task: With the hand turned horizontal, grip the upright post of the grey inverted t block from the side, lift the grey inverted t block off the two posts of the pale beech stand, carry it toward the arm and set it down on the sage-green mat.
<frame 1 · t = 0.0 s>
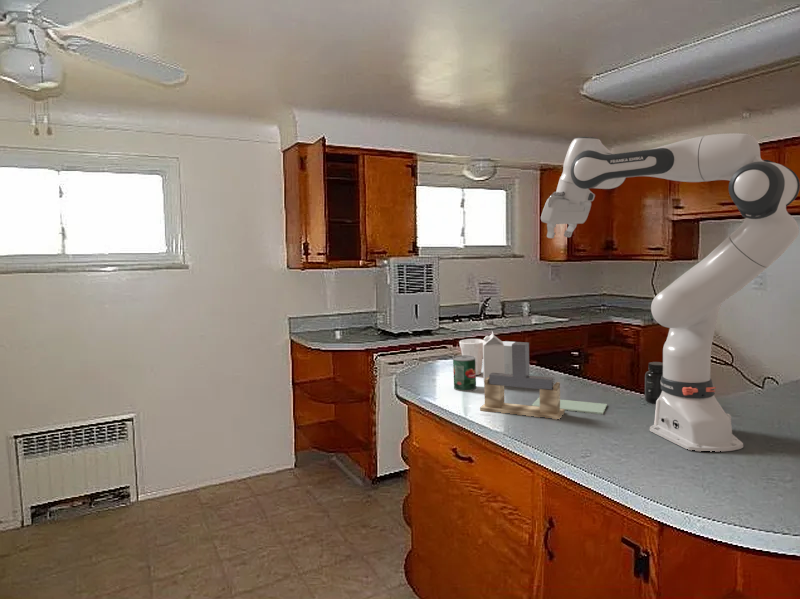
hand: (558, 237, 167), 52 cm above the counter, tool tilted 20°, fingers open, 8 cm apart
canned tomato: (465, 388, 194), on the counter
supplement bottle: (656, 401, 170), on the counter
grey inverted t block: (521, 385, 165), point 8 cm above the counter, touching stand
mat: (569, 406, 169), on the counter
small box: (507, 377, 207), on the counter
stand: (521, 411, 166), on the counter
cup: (473, 374, 213), on the counter
milk carton: (494, 384, 198), on the counter
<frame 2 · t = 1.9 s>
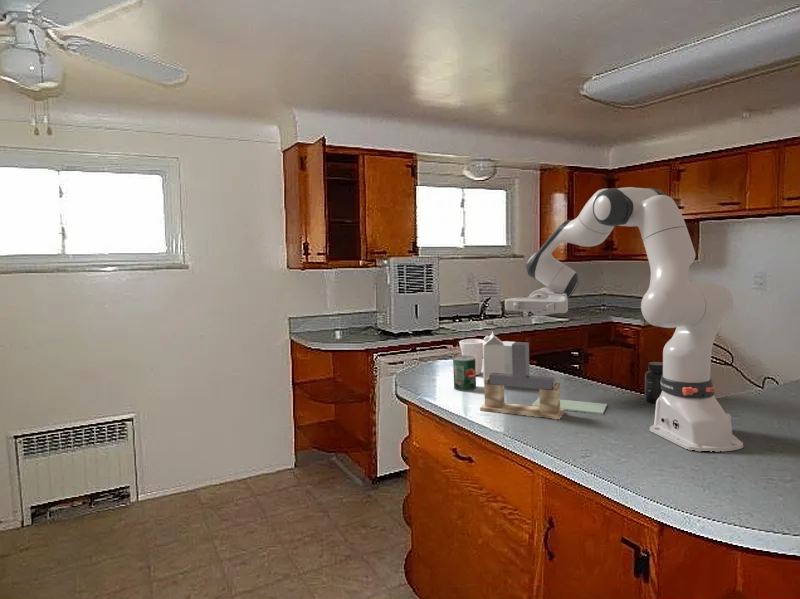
hand: (530, 307, 173), 30 cm above the counter, tool horizontal, fingers open, 8 cm apart
nothing on the counter moved.
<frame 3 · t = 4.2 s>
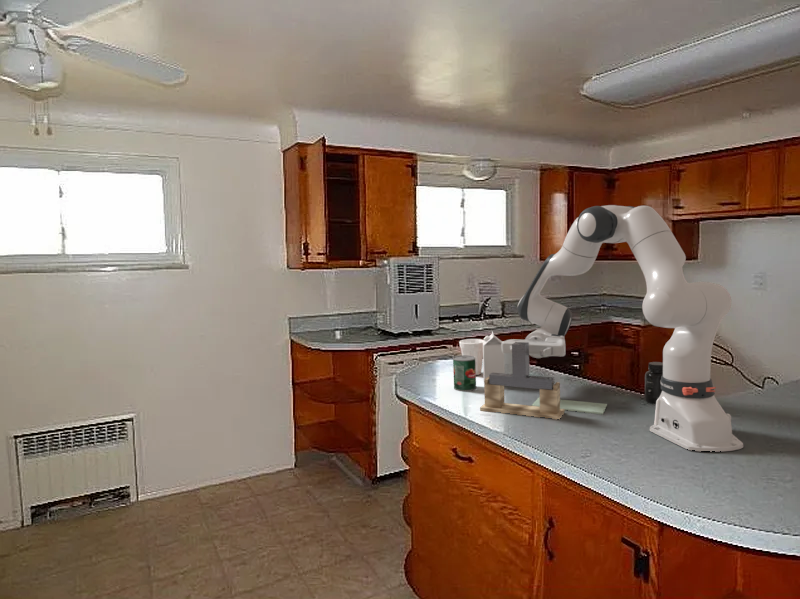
hand: (527, 352, 170), 17 cm above the counter, tool horizontal, fingers open, 8 cm apart
nothing on the counter moved.
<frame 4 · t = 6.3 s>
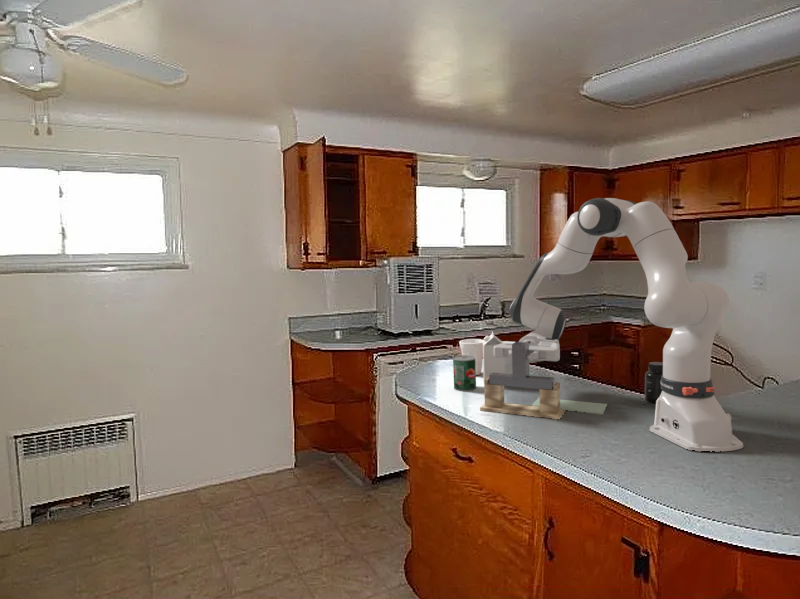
hand: (519, 357, 163), 17 cm above the counter, tool horizontal, fingers closed on grey inverted t block, 4 cm apart
grey inverted t block: (521, 385, 165), point 8 cm above the counter, touching gripper, stand
everything else where it was.
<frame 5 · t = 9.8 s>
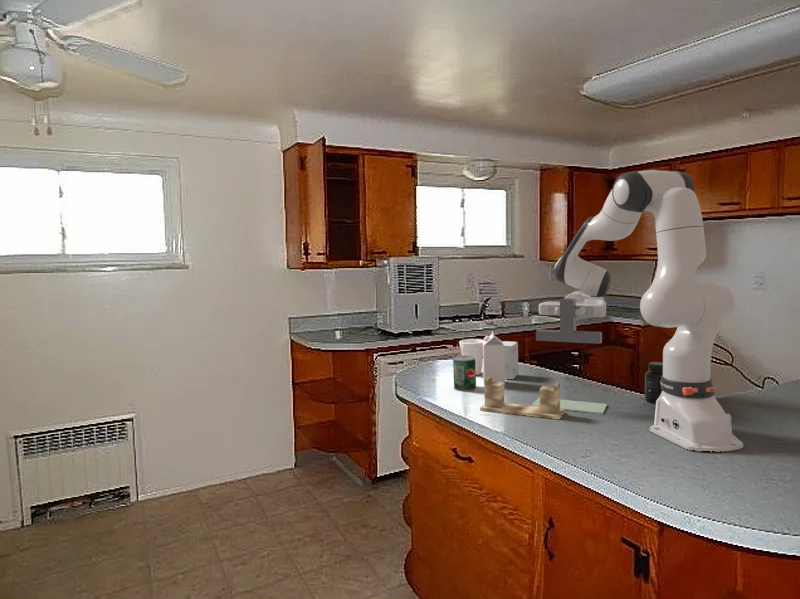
hand: (567, 312, 165), 29 cm above the counter, tool horizontal, fingers closed on grey inverted t block, 4 cm apart
grey inverted t block: (568, 341, 167), point 20 cm above the counter, touching gripper
everything else where it was.
when the fingers open (11 cm above the counter, at t = 13.3 s): grey inverted t block drops 1 cm, resting on mat.
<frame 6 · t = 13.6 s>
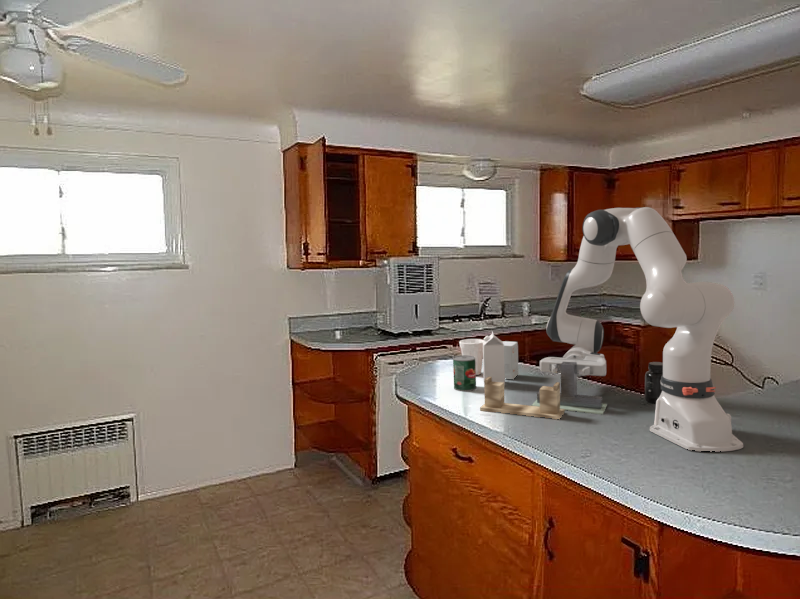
hand: (568, 372, 167), 11 cm above the counter, tool horizontal, fingers open, 6 cm apart
grey inverted t block: (569, 404, 169), resting on mat
everything else where it was.
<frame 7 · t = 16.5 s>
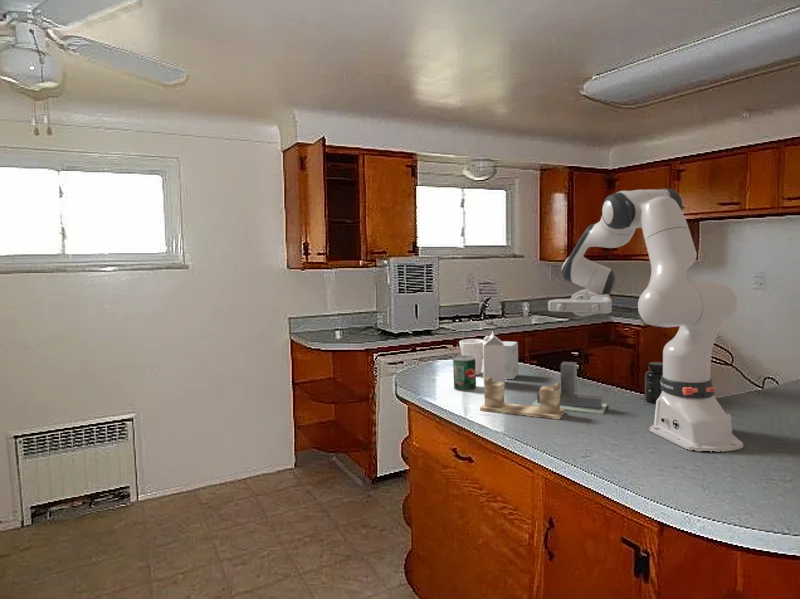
hand: (575, 308, 176), 29 cm above the counter, tool horizontal, fingers open, 8 cm apart
nothing on the counter moved.
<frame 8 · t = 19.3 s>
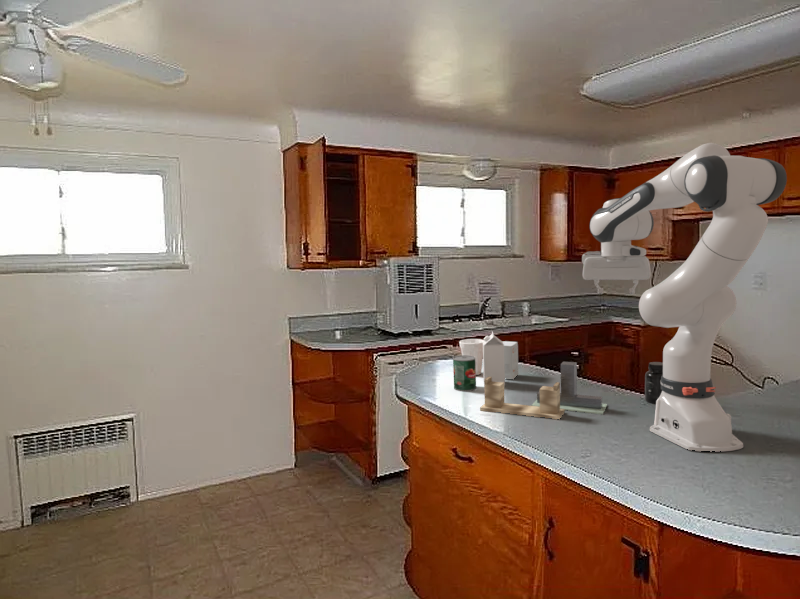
hand: (615, 294, 175), 33 cm above the counter, tool pointing down, fingers open, 8 cm apart
nothing on the counter moved.
at the end: grey inverted t block inside the target area on the mat (0.1 cm from its centre), point 0.5 cm above the mat's base; grey inverted t block tilted 0°; the gripper is holding nothing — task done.
